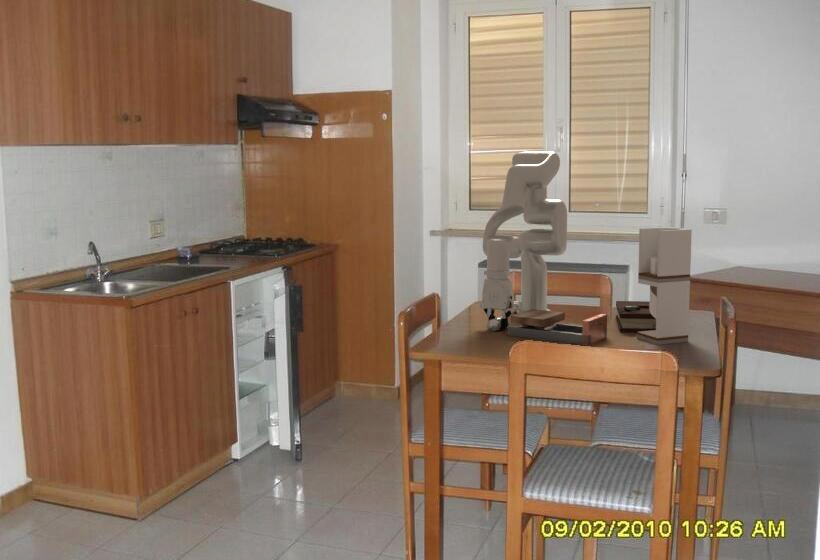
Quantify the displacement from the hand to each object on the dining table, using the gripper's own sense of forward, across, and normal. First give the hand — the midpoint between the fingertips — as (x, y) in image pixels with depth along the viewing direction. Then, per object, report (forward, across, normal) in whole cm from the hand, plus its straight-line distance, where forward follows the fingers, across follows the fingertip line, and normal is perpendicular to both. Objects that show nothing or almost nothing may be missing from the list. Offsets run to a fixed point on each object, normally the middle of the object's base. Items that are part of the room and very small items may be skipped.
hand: (498, 328), depth 289 cm
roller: (0, 0, 0) cm, 0 cm away
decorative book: (+1, +38, +33) cm, 50 cm away
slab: (-4, +15, 0) cm, 15 cm away
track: (0, +22, 0) cm, 22 cm away
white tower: (+1, +52, +13) cm, 54 cm away
